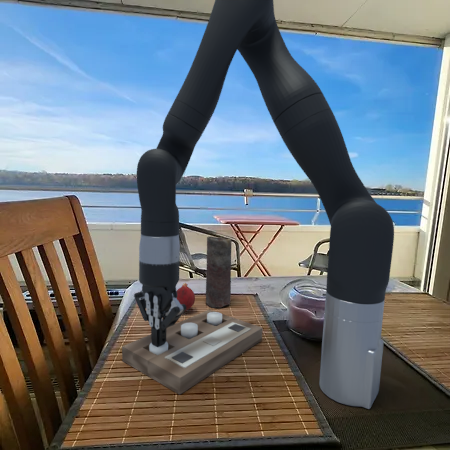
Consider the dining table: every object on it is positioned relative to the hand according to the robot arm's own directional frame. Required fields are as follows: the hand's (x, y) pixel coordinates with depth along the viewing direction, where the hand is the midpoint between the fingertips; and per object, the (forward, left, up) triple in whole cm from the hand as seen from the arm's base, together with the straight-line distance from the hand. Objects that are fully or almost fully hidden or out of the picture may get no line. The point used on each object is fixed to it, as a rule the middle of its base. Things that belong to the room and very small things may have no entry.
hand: (158, 344), depth 64 cm
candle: (+11, -33, -4) cm, 35 cm away
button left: (0, 0, -2) cm, 3 cm away
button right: (0, -17, -1) cm, 17 cm away
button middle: (0, -8, -2) cm, 9 cm away
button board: (-3, -9, -4) cm, 10 cm away
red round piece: (+14, -22, -4) cm, 26 cm away
